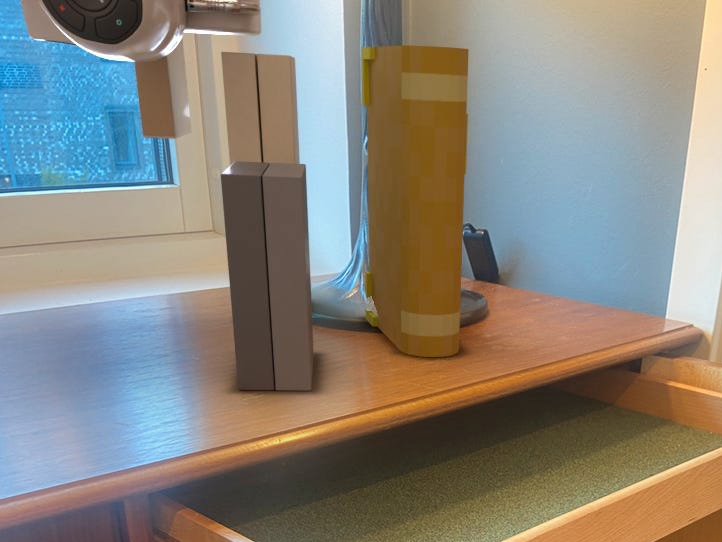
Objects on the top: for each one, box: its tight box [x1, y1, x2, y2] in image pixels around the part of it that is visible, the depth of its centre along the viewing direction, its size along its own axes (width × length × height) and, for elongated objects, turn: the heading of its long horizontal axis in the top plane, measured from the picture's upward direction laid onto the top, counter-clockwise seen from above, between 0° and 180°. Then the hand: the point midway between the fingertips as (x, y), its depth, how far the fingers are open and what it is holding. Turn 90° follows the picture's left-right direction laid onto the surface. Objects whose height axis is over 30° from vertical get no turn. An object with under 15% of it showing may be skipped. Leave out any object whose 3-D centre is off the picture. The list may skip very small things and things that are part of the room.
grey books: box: [220, 161, 315, 392], centre depth 80 cm, size 6×12×16 cm, turn 8°
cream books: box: [220, 51, 301, 166], centre depth 100 cm, size 6×14×24 cm, turn 8°
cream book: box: [133, 37, 192, 140], centre depth 90 cm, size 3×12×20 cm, turn 8°
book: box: [360, 44, 470, 358], centre depth 91 cm, size 17×7×25 cm, turn 17°
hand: (156, 10), depth 91 cm, fingers closed on cream book, 3 cm apart
